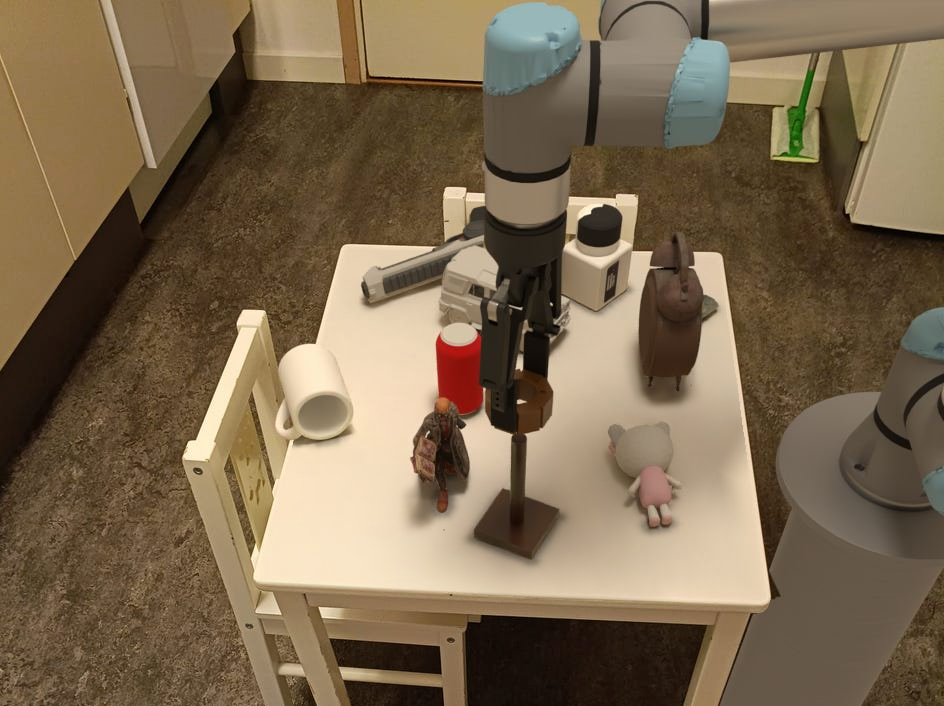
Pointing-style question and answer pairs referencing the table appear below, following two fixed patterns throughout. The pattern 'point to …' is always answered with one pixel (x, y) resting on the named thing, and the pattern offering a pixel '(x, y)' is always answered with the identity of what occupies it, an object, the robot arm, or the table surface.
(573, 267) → the container
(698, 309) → the alarm clock
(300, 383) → the mug
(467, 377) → the beverage can
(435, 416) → the figurine
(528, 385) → the ring
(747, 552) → the table surface
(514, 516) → the peg stand
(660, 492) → the toy
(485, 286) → the toy car
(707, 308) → the stone
